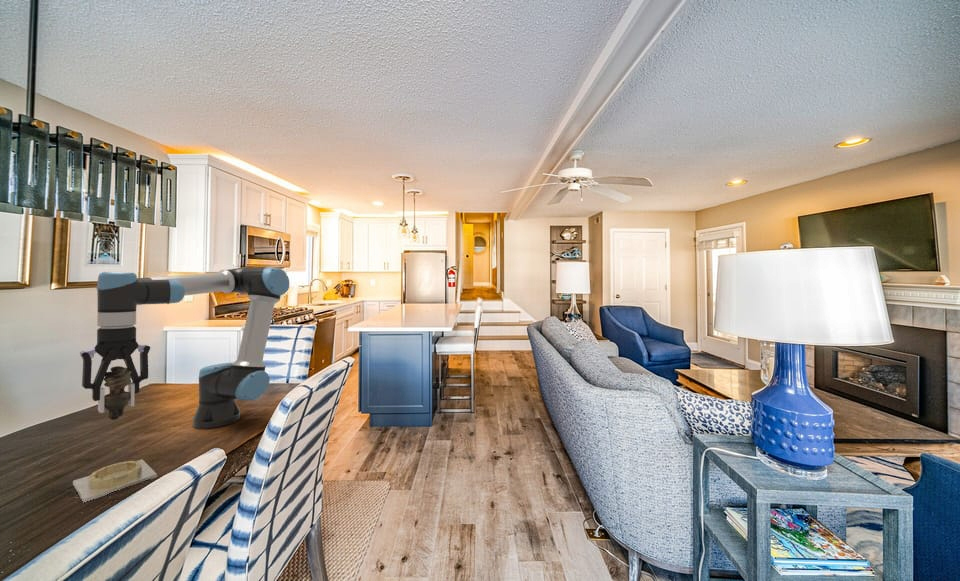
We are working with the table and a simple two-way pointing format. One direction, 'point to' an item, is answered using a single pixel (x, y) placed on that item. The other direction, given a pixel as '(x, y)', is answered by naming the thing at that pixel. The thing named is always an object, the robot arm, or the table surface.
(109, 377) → the dark brown lumpy column
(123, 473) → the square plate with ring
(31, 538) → the table surface
